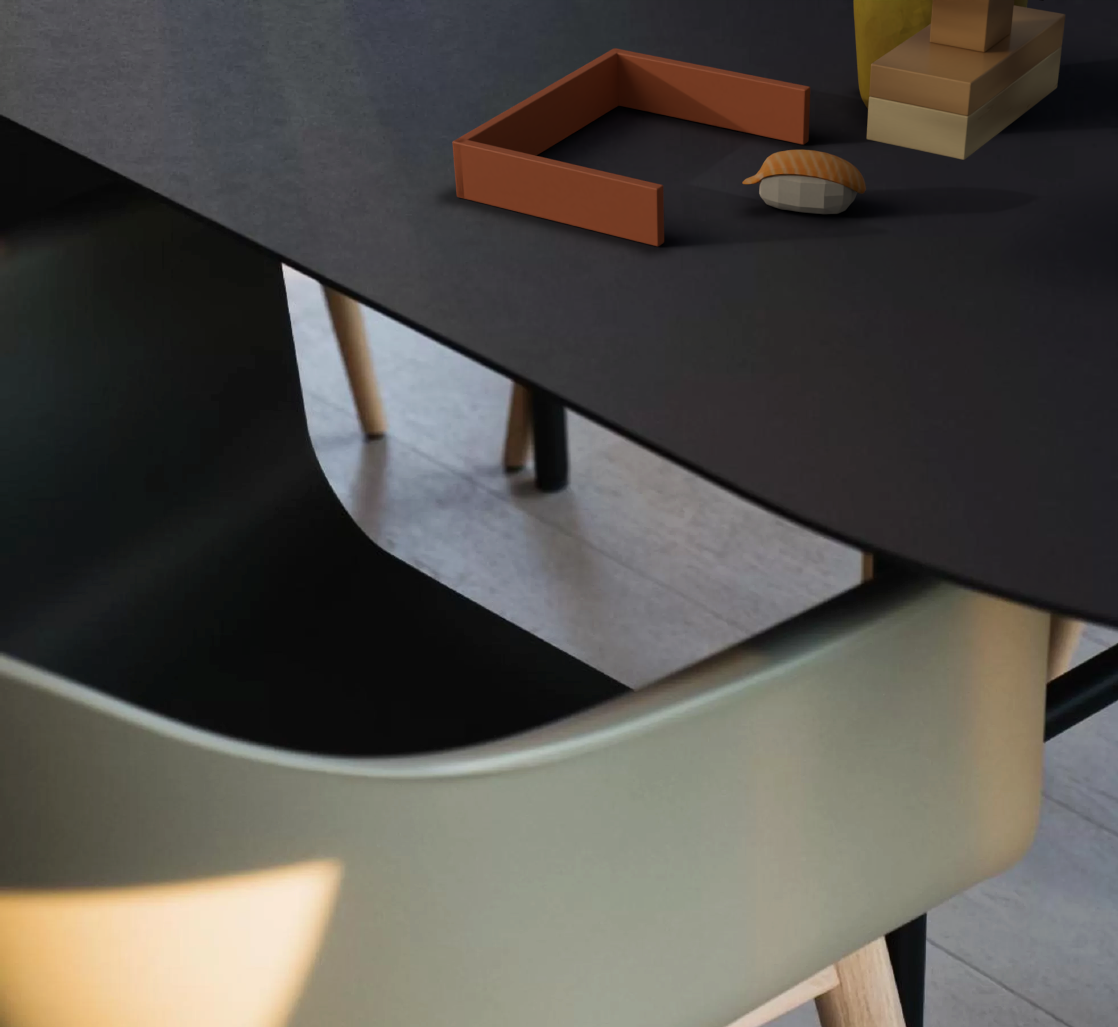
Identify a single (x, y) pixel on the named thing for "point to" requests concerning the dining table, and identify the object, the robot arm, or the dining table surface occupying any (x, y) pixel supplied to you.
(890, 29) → the mug
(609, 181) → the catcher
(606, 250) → the dining table surface
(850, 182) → the sushi
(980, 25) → the brown boxy piece
